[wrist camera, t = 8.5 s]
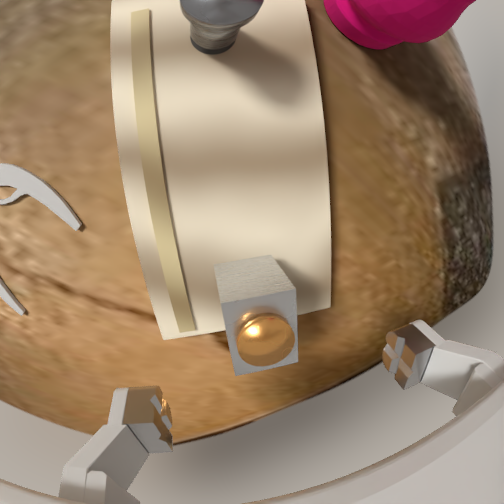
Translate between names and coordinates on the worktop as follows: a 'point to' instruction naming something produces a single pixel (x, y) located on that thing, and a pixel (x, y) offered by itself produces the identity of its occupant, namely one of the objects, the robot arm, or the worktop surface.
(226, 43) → the fixed leg
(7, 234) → the worktop surface
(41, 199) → the pliers
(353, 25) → the pepper mill
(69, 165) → the worktop surface
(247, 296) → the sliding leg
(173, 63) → the board
